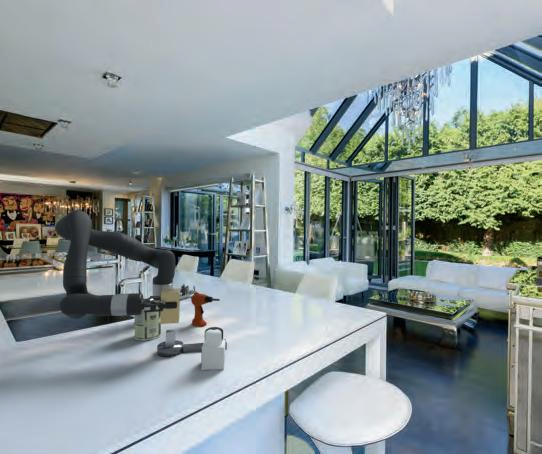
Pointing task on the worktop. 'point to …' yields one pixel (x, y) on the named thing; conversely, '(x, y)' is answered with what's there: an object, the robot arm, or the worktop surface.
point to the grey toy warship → (186, 289)
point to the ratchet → (177, 346)
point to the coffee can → (147, 326)
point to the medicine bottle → (213, 350)
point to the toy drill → (200, 308)
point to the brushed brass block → (170, 314)
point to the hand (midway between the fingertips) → (177, 302)
